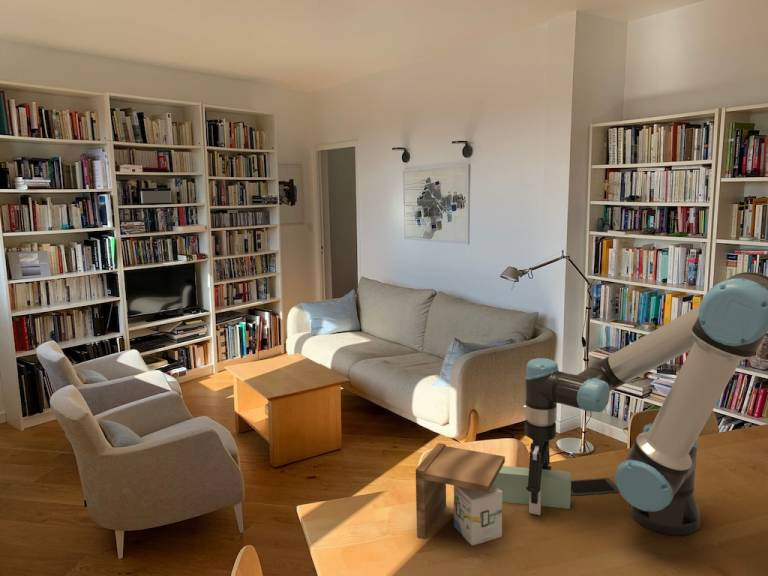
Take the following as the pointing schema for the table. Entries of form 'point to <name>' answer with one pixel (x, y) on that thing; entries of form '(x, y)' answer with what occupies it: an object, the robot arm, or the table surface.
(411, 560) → the table surface
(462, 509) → the ink box
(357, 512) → the table surface
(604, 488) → the cell phone
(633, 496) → the robot arm
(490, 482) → the shelf
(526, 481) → the sage green box
